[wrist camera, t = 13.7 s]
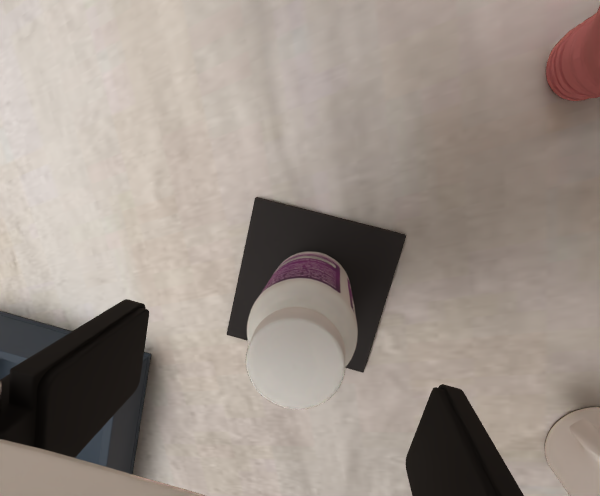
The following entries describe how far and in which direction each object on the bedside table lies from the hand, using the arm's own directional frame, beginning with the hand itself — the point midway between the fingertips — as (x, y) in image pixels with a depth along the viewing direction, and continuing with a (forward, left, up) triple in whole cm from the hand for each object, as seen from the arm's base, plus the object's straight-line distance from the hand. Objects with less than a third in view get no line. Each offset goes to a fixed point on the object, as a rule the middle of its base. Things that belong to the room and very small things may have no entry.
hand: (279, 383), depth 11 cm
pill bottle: (+1, 0, -12) cm, 12 cm away
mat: (+1, 0, -13) cm, 12 cm away
